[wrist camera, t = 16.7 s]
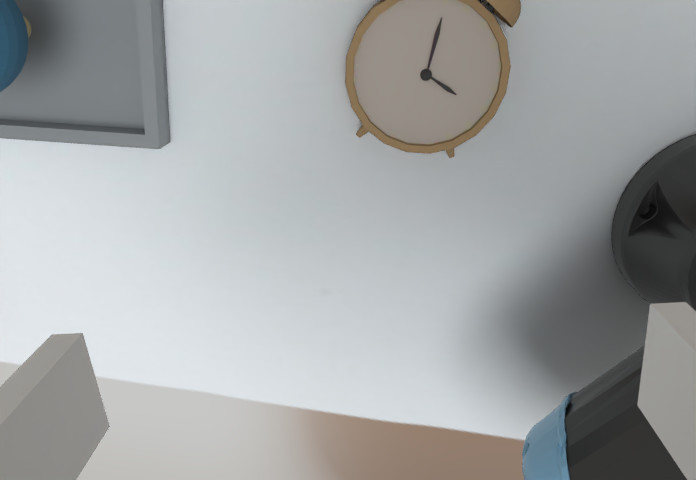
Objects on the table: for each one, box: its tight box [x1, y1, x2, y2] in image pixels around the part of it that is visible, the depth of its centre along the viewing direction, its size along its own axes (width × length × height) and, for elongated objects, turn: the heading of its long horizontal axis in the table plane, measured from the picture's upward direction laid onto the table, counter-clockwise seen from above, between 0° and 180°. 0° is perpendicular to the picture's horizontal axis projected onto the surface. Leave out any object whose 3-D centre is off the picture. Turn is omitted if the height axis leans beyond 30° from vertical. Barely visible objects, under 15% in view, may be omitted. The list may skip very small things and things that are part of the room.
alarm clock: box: [345, 0, 521, 158], centre depth 40 cm, size 11×5×15 cm
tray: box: [0, 0, 170, 149], centre depth 41 cm, size 20×16×2 cm
